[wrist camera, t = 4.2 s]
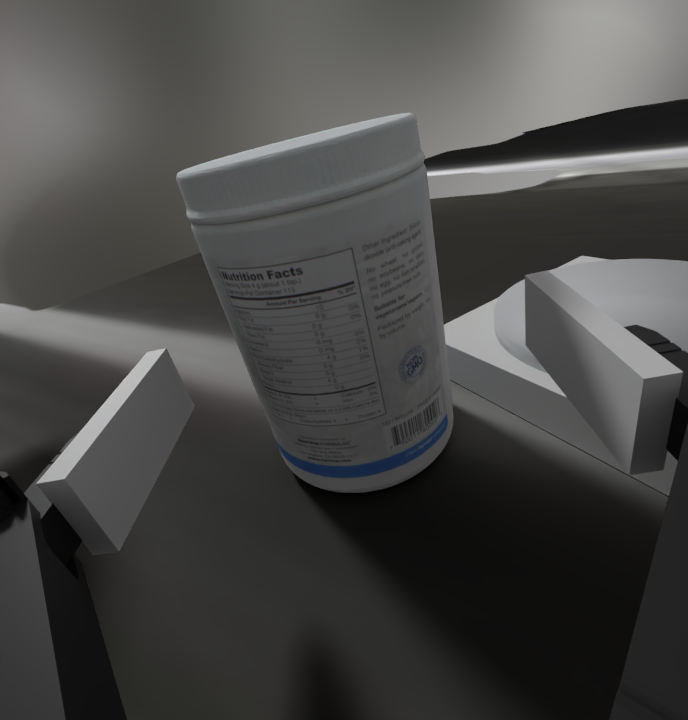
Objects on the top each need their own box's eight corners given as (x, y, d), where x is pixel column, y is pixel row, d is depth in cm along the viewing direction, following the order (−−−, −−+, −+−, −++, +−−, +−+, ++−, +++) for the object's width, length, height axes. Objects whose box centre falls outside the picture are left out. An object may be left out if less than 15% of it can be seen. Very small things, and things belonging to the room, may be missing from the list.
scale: (429, 368, 28) (422, 320, 26) (579, 287, 33) (582, 242, 31) (708, 517, 15) (729, 443, 14) (879, 349, 20) (910, 280, 19)
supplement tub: (310, 388, 29) (236, 152, 22) (455, 378, 26) (425, 105, 19) (256, 503, 21) (111, 187, 14) (458, 507, 18) (408, 114, 11)
